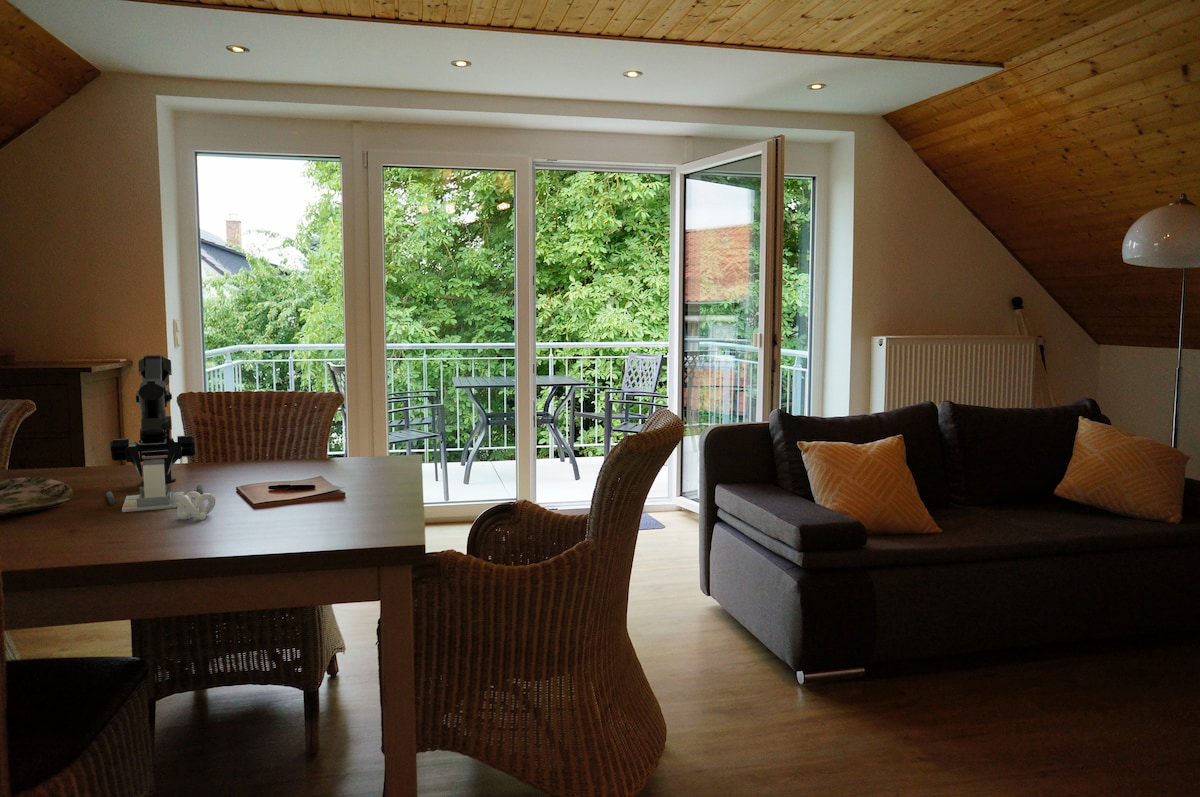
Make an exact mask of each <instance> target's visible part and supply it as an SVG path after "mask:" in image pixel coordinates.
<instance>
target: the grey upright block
mask: <svg viewBox="0 0 1200 797" xmlns="http://www.w3.org/2000/svg"><path fill="white" fill-rule="evenodd" d="M142 476H143V480H144V483H143V487H144V496H145V498H151V497H164V496H165V495H166V491H165V485H166V483H165V470H164V459H151V460H144V461H143V462H142Z"/></svg>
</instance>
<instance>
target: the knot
mask: <svg viewBox="0 0 1200 797" xmlns="http://www.w3.org/2000/svg"><path fill="white" fill-rule="evenodd" d="M192 498H193V499H195V500H194V501H193V500H192ZM206 500H208V502H207V506H206V503H205V501H206ZM215 506H216V498H215V495H213V493H210V492H205V493H204V492H203V494H202V495H201V494H200V493H198V492H197V490H195V491H189V492H187V493H186V494H184V496H182V499H181V501H180V503H179V505H178V508H177V511H176V513H177V516H178V518H179V519H180V520H183V521H184V520H185V521H186V520H188V519H189V518H191V517H192V516H193V518H195V519H196V520H199V521H204V520H205V519H206V518H207V515H209V513H211V512H212V511H213V510H214V508H215ZM185 508H186V512H185Z"/></svg>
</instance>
